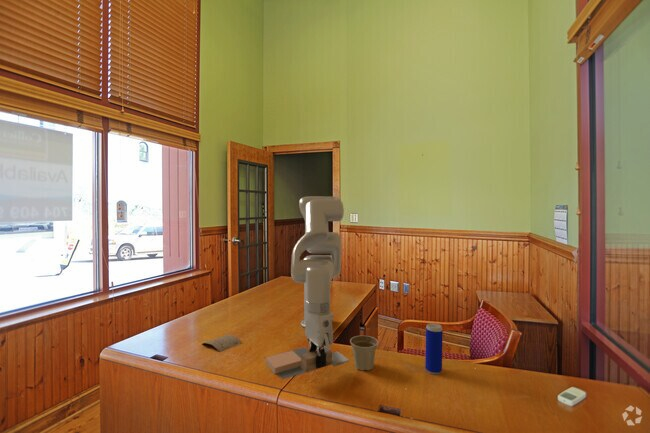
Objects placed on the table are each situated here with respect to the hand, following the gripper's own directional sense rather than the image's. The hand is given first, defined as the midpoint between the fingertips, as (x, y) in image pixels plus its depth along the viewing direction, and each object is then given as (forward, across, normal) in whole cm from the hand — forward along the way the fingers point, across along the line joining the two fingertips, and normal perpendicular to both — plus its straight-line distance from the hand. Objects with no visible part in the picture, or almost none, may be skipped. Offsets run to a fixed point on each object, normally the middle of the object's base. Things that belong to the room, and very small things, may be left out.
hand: (317, 363), depth 97 cm
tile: (+4, +17, +6) cm, 18 cm away
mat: (+6, +13, +2) cm, 14 cm away
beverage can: (+6, -15, -36) cm, 39 cm away
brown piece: (+1, 0, -2) cm, 2 cm away
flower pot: (+6, -1, -18) cm, 18 cm away
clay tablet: (+7, +40, +20) cm, 45 cm away
